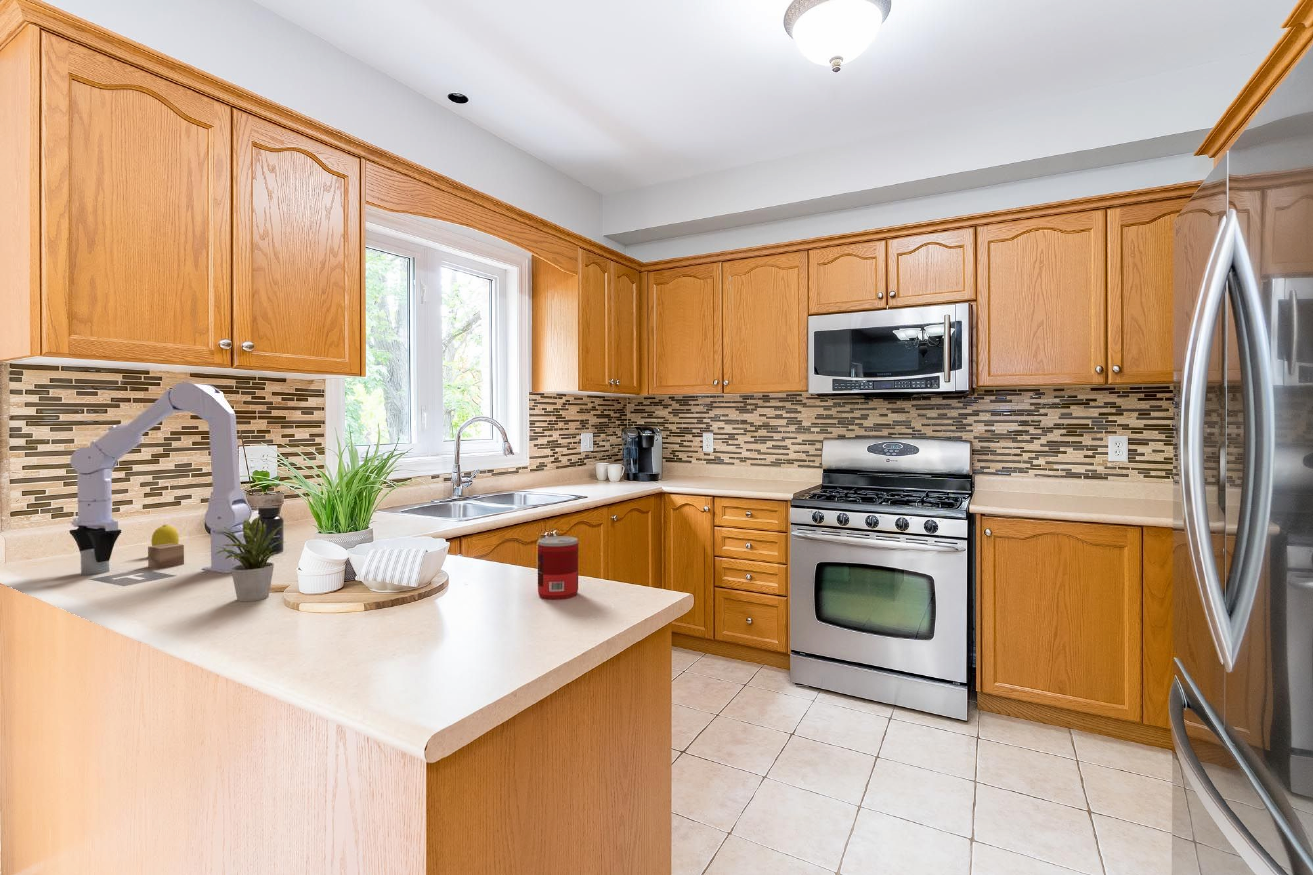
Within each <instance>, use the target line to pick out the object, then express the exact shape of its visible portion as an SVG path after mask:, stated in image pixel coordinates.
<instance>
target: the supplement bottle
mask: <svg viewBox="0 0 1313 875" xmlns="http://www.w3.org/2000/svg"><path fill="white" fill-rule="evenodd" d="M257 509H258V510H257V515H258V516H259V515H260V516H259V518H258V522H257V526H256V534H255V538H257V533H258V525H259V520H260V521H261V524H262V528H263V524H264V523H265V525H266V533H265V536H264V540H263V543H264V542H265V540H266V538H267V537H268V536H269V535H270V534H271V533H272V532H273V531H274V530H276V529H277V528H279V527H280V528H279V529H278V530H277V531H276V533H275V534H274V535H273V537H272V538H271V540H270V542H269V543H268V545H267V546H266V548H265V550H264V551H263V553H262V554H261V555H263V554H264V552H265V551H266V550H267V548H268V547H270V546H271V545H273V544H275V543H277V544H275V545H273V546H272V550H271V551H270V552H269V554H271V553H273V552H278V553H281V552H282V553H283V551H284V547H285V546H284V545H285V544H284V543H285V541H284V539H285V535H284V534H285V533H284V532H285V520H284V518H283V517H282V516H280V506H274V505H270V506H269V505H268V506H259V507H258V508H257ZM283 524H284V525H283ZM282 525H283V526H282ZM281 526H282V527H281ZM278 542H282V543H278ZM262 546H263V544H262ZM280 551H281V552H280ZM278 553H277V554H278ZM269 554H268V555H269Z"/></svg>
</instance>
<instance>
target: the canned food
mask: <svg viewBox="0 0 1313 875" xmlns="http://www.w3.org/2000/svg"><path fill="white" fill-rule="evenodd" d="M578 591H579V540H578V538H577V537H573V536H567V535H562V536H561V535H557V536H546V537H541V538H539V539H538V540H537V592H538V595H539V597H540V598H541V599H544V600H545V599H546V600H564V599H565V600H566V599H570V598H573V597H575V596H577V594H578Z"/></svg>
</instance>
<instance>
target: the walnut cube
mask: <svg viewBox="0 0 1313 875" xmlns="http://www.w3.org/2000/svg"><path fill="white" fill-rule="evenodd" d="M147 559H148V560H147V567H149V568H155V569H164V568H172V567H175V566H176V567H177V566H182V565H185V545H184V544H182V543H181V544H179V543H178V544H174V543H169V544H163V545H156V546H152V545H151V546H150V545H149V546H148V547H147Z"/></svg>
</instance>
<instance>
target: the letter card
mask: <svg viewBox="0 0 1313 875" xmlns="http://www.w3.org/2000/svg"><path fill="white" fill-rule="evenodd" d="M173 577H177V574H176V575H175V574H170V573H164V572H158V571H157V572H156V571H152V570H146V569H139V570H133V571H127V572H121V573H115V574H111V575H104V576H100V577H99V576H98V577H94V578H89V579H88V581H89V580H90V581H95V582H100V583H105V584H109V585H110V584H111V585H116V586H119V587H120V586H121V587H127V586H132V585H138V584H143V583H148V582H152V581H157V580H158V581H159V580H164V579H168V578H173Z"/></svg>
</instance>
